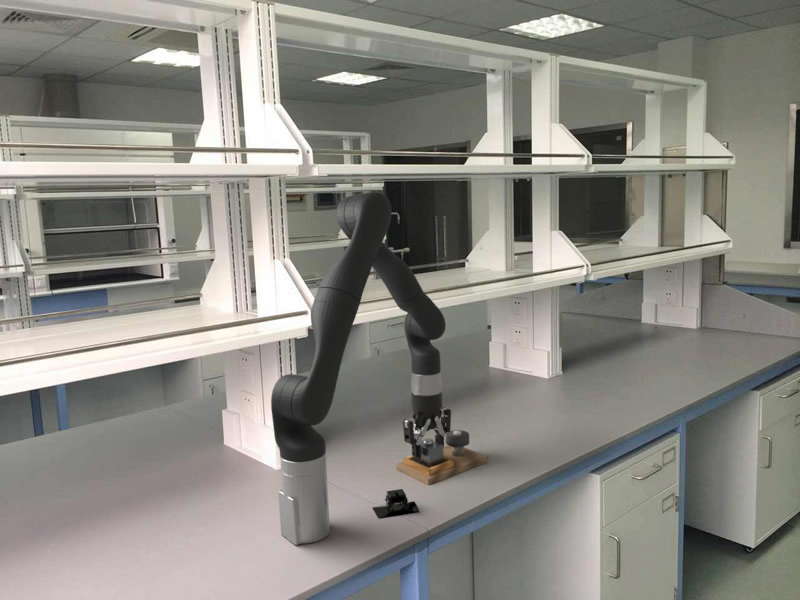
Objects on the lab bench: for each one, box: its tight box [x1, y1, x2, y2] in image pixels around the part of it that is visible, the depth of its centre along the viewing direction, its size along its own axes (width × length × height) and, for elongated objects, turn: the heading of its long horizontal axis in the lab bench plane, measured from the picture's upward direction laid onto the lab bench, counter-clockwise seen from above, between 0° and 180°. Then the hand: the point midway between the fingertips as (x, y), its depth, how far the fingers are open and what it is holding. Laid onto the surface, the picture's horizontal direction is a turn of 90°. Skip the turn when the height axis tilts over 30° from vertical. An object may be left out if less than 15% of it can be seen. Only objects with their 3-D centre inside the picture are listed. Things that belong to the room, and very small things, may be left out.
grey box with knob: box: [414, 438, 444, 468], centre depth 164 cm, size 5×6×6 cm
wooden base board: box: [396, 445, 488, 486], centre depth 167 cm, size 20×12×4 cm, turn 129°
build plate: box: [371, 488, 421, 520], centre depth 145 cm, size 12×7×5 cm, turn 104°
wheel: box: [445, 429, 470, 447], centre depth 170 cm, size 6×6×3 cm
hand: (428, 453), depth 164 cm, fingers open, 6 cm apart
